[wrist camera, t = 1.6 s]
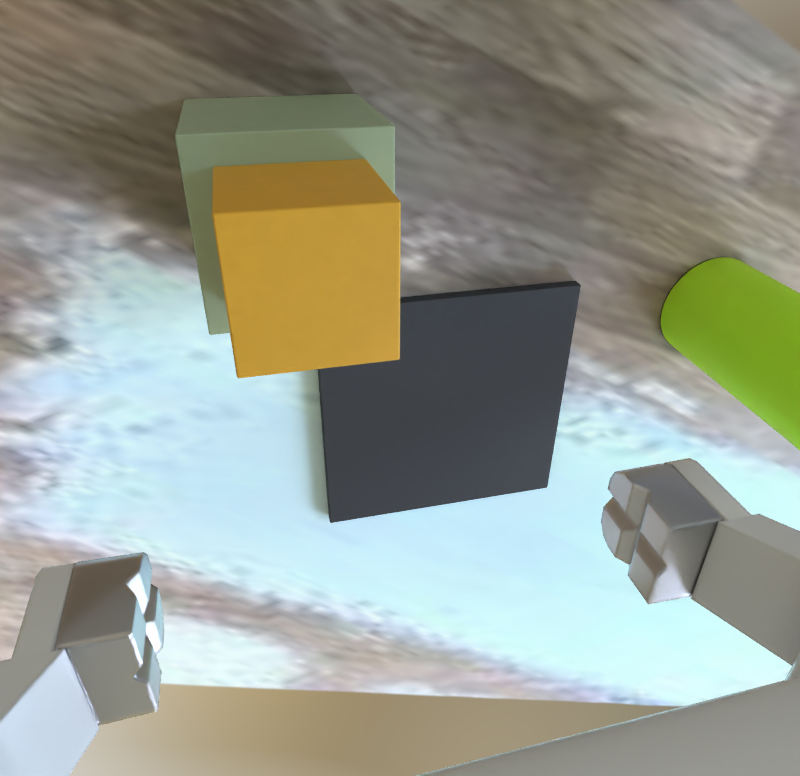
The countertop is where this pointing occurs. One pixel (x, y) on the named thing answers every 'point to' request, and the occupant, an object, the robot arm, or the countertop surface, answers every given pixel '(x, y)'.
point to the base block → (268, 156)
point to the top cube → (308, 264)
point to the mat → (451, 402)
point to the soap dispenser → (741, 337)
